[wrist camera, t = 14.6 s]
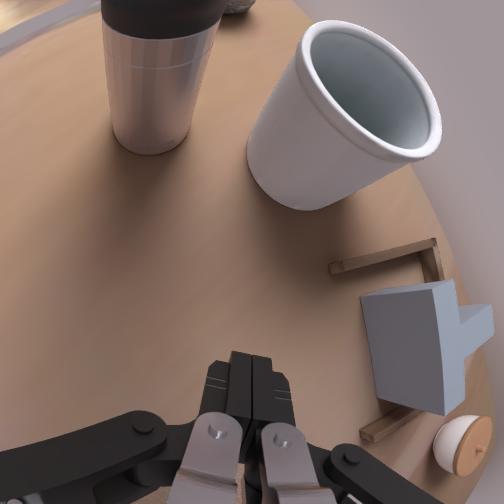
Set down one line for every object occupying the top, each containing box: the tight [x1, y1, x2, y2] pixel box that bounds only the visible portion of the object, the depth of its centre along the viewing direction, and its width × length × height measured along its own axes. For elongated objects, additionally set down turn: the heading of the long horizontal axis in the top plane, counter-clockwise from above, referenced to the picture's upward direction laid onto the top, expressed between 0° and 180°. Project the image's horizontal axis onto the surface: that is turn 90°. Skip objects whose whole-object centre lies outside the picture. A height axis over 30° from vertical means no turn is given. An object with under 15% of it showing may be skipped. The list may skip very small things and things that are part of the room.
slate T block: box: [360, 279, 494, 416], centre depth 32 cm, size 14×12×12 cm
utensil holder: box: [247, 20, 442, 211], centre depth 29 cm, size 15×15×18 cm
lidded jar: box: [433, 415, 492, 477], centre depth 34 cm, size 11×11×9 cm
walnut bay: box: [329, 238, 445, 443], centre depth 36 cm, size 23×18×3 cm
